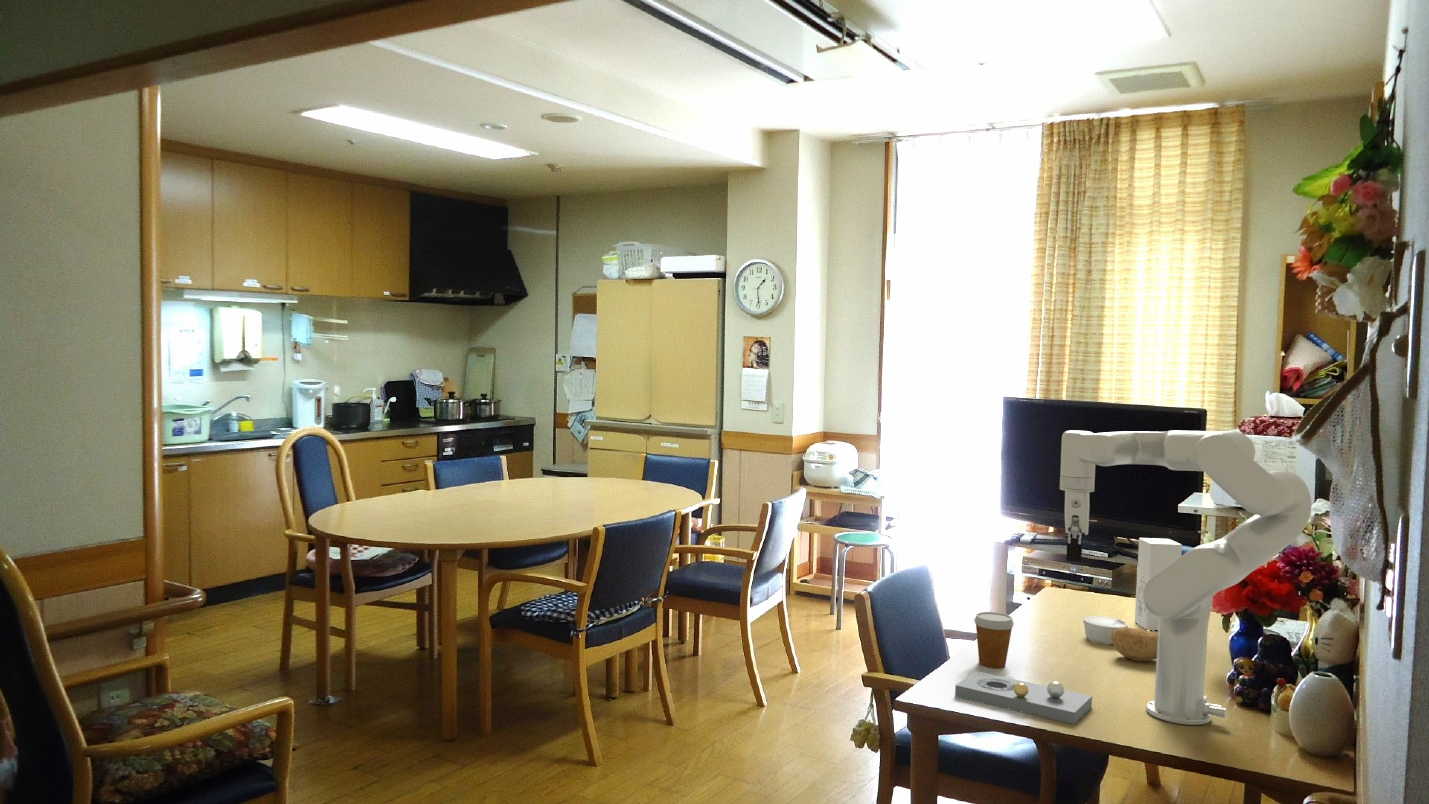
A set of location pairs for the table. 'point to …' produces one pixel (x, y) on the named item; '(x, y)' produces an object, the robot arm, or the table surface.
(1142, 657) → the potato
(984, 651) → the disposable coffee cup
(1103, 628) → the ramekin
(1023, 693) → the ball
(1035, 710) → the hole board
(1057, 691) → the ball
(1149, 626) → the tall white carton
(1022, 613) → the table surface
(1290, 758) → the table surface
